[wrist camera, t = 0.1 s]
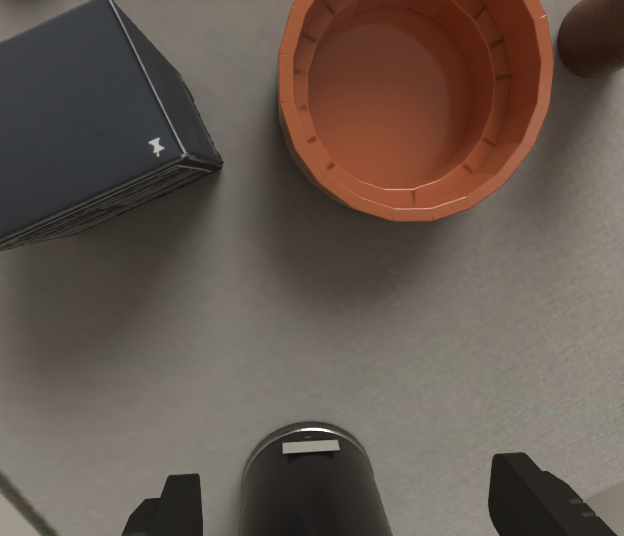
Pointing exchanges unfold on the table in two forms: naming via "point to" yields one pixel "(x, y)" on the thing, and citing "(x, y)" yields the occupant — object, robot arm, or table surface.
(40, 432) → the table surface
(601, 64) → the spice jar
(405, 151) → the bowl
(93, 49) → the small box
